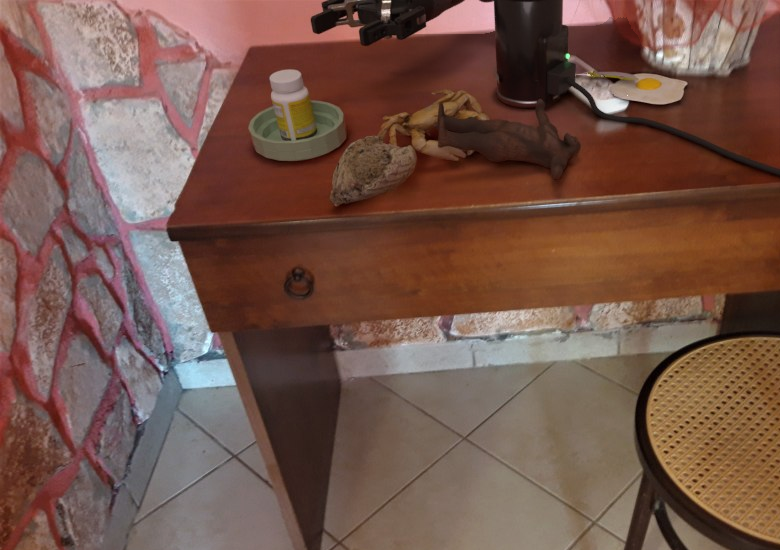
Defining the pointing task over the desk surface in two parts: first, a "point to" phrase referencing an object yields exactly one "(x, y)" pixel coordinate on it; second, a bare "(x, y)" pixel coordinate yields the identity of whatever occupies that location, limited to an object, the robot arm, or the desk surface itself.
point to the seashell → (371, 170)
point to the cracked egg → (649, 89)
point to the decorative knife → (614, 75)
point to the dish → (273, 146)
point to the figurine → (510, 139)
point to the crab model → (432, 124)
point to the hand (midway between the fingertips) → (336, 32)
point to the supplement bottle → (292, 106)
